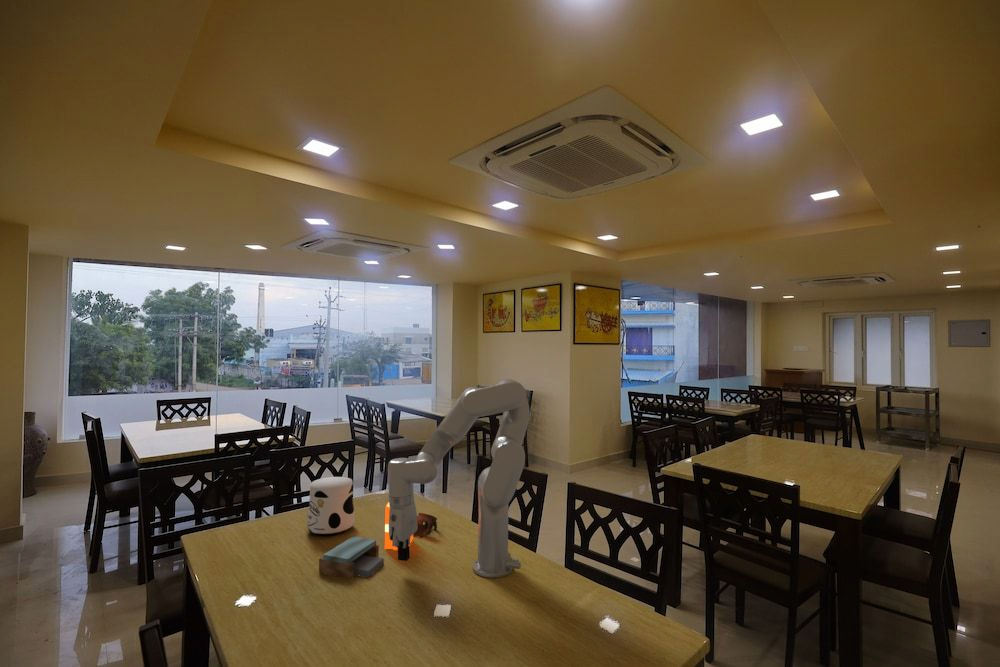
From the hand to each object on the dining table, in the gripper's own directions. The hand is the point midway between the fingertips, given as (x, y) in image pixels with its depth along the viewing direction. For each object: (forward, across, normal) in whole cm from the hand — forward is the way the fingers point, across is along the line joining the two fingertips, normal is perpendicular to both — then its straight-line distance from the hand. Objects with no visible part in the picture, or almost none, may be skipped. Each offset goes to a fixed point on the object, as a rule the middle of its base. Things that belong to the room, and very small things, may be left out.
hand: (403, 559), depth 146 cm
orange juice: (+4, +18, +12) cm, 23 cm away
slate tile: (+4, -1, +16) cm, 17 cm away
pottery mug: (+5, +30, +9) cm, 32 cm away
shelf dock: (+3, -1, +18) cm, 19 cm away
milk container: (+3, +21, +44) cm, 48 cm away
